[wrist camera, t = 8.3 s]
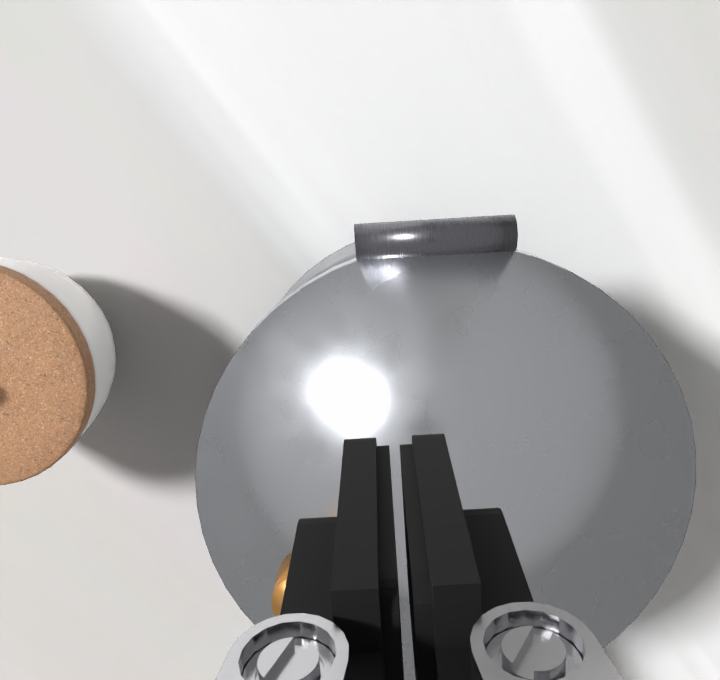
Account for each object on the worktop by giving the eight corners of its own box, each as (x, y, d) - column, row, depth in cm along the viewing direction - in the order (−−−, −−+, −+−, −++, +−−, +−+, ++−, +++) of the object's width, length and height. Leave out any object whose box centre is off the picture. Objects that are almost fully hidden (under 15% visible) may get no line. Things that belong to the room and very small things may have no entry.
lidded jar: (182, 339, 38) (122, 392, 29) (62, 462, 40) (-28, 548, 31) (33, 202, 36) (-80, 212, 27) (-84, 337, 38) (-225, 389, 29)
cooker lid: (170, 233, 27) (144, 241, 24) (699, 201, 26) (743, 206, 23) (241, 788, 33) (228, 852, 30) (664, 773, 33) (694, 836, 30)
